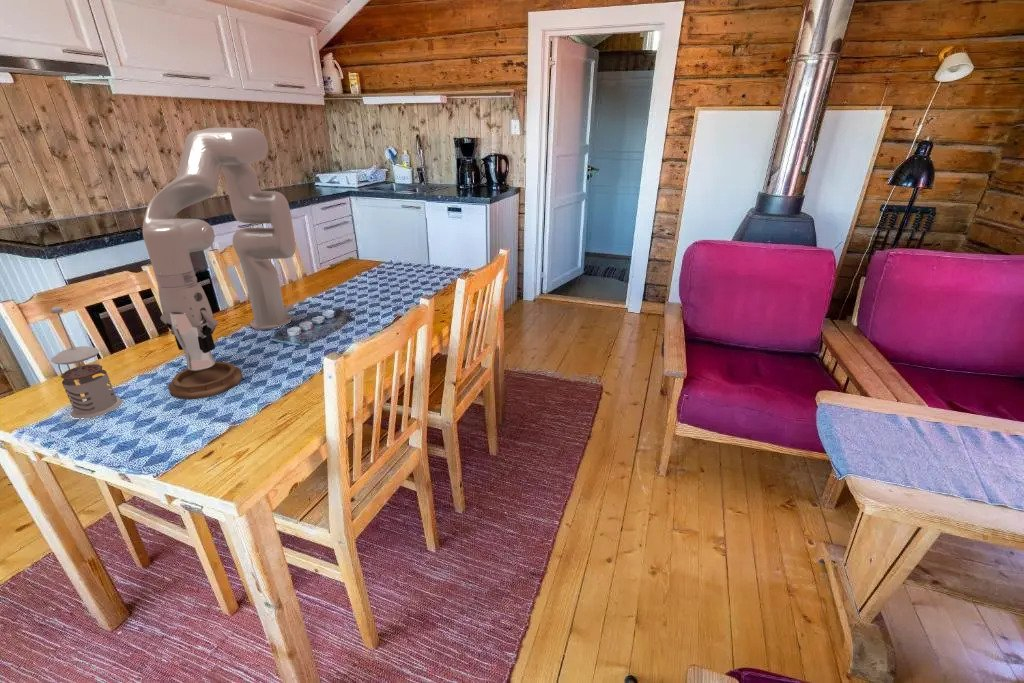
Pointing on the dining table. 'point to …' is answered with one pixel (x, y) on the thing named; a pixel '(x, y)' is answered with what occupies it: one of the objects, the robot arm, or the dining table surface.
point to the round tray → (205, 381)
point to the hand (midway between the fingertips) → (197, 348)
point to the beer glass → (191, 343)
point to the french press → (85, 381)
